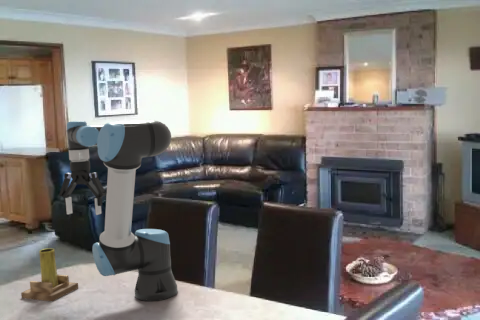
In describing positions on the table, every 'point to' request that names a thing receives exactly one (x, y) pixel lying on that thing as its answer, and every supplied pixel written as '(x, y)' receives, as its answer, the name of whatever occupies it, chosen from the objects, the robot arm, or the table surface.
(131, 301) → the table surface
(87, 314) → the table surface
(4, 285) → the table surface
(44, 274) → the vase
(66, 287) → the holder
